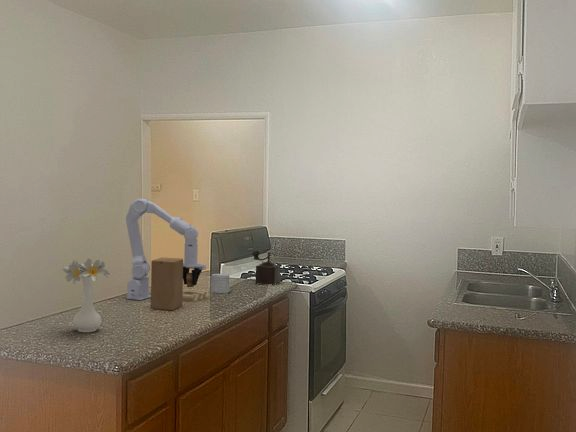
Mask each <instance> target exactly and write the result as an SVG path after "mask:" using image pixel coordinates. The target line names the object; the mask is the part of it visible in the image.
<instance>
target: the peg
mask: <svg viewBox="0 0 576 432" xmlns="http://www.w3.org/2000/svg"><path fill="white" fill-rule="evenodd" d="M186 283H187V284H186V287H187V288H194V287H195V285H193V276H192V272H189V273H186Z"/></svg>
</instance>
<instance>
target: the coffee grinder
mask: <svg viewBox="0 0 576 432" xmlns="http://www.w3.org/2000/svg"><path fill="white" fill-rule="evenodd" d="M259 255H260V251H259V250H257V249H256V250H253V251H252V256H253V260H256V261H262V262H261V263H259V264H258V265H255V284H256V283H261V284H260V285H264V284H272V285H271V286H274V285H273V284H275V283H278V284H280V283H281V265H280V264H274V263H273V262H271V261H270V256H271V252H270V251H268V252H267V255H266V257H263V258H259ZM264 260H267V261H264Z"/></svg>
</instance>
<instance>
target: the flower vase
mask: <svg viewBox="0 0 576 432" xmlns="http://www.w3.org/2000/svg"><path fill="white" fill-rule="evenodd" d="M69 264H70V265H68V266H65V267H64V266H63V268H62V271H63V272H64V273H65V274H67V275H66V276H65V278H64V279H66V281H67V282H70V281H72V284H73V285H75V284H76V282H80V281H82V301H81V302H82V303H81V307H80V308H79V310H78V312H77V313H76V314H75V315H74V317H73V319H72V323H73V326H74V327H75V328H77V331H78V332H79V333H92V332H96V331H97V329H98V327H99V326H100V325H101V323H102V321H103V320H102V317H101V315H100V313H98V311H97V310H96V309H95V307H94V301H93V284H94V282H96V281H97V280H98V275H103V276H105V277H106V278H108V276H109V275H110V272H109V271H108V270H107V269H105V266H106V264H105V262H104V260H102V261H101V260H100V257H99V258H97V260H95V261H94V262H93V261H92V259H91V258H87V259H86V260H85V261H84V262H83V263H79V262H78V260H77V258H76V259H73V260H71V261H70V263H69Z"/></svg>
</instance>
